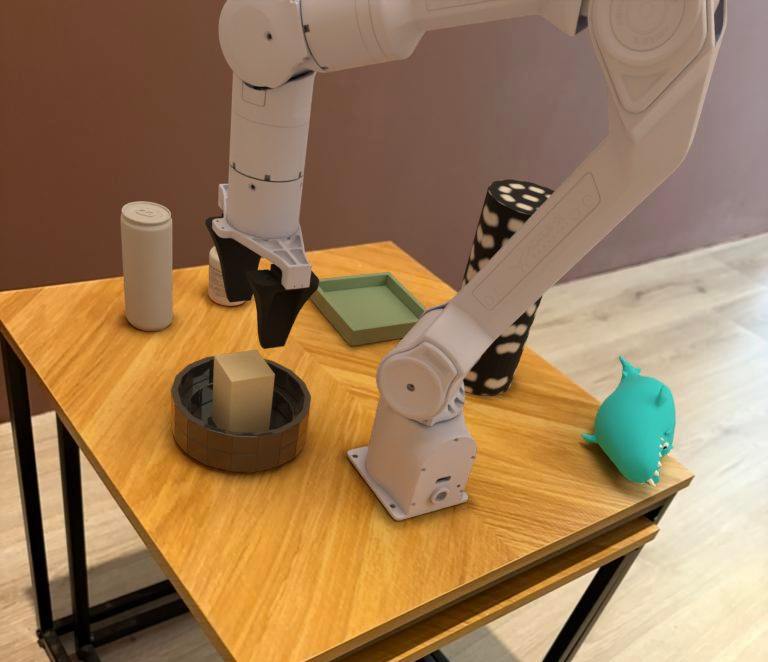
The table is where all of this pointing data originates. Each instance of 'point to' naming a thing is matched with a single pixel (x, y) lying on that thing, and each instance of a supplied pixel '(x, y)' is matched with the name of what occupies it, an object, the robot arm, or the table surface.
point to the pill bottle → (217, 281)
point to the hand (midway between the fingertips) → (255, 321)
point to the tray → (367, 307)
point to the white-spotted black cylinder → (495, 227)
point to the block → (242, 392)
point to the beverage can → (147, 265)
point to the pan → (238, 447)
